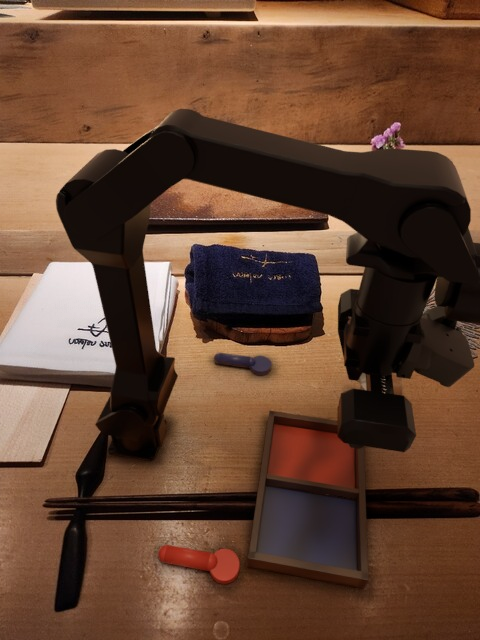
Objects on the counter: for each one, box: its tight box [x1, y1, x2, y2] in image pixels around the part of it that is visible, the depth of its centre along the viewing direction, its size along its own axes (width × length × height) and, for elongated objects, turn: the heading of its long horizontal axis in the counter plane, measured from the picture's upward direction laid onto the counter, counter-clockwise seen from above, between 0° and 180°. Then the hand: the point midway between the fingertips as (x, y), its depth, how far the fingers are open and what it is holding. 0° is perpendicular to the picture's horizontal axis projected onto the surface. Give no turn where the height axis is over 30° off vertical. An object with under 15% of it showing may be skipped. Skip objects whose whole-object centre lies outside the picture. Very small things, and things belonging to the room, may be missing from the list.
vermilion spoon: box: [157, 544, 241, 585], centre depth 52 cm, size 9×3×2 cm, turn 81°
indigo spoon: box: [213, 352, 272, 377], centre depth 74 cm, size 9×3×2 cm, turn 80°
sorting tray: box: [246, 410, 370, 589], centre depth 58 cm, size 13×20×3 cm, turn 171°
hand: (354, 410), depth 51 cm, fingers open, 9 cm apart
